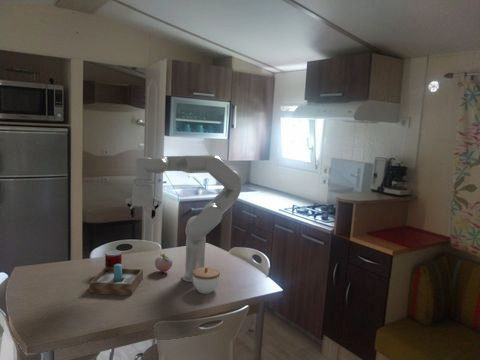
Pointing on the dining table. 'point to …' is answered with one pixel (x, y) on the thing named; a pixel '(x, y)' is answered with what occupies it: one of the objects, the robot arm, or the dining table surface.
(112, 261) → the canned food
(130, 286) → the bore box
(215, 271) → the lidded bowl
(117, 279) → the peg
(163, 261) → the decorative fruit
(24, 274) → the dining table surface
